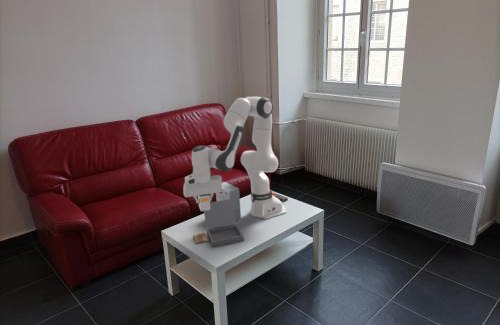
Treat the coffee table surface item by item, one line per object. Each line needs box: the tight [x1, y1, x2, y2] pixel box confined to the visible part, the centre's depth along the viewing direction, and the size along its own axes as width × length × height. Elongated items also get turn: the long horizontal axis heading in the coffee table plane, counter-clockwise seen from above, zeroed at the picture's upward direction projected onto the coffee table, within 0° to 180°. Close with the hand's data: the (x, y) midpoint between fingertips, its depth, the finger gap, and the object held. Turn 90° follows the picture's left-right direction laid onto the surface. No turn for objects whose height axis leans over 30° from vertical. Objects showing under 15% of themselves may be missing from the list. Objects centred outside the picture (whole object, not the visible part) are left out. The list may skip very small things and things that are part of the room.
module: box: [197, 194, 211, 212], centre depth 190 cm, size 5×6×8 cm
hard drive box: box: [215, 181, 242, 221], centre depth 220 cm, size 16×8×20 cm, turn 37°
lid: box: [203, 199, 237, 230], centre depth 204 cm, size 17×14×1 cm
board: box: [193, 231, 210, 245], centre depth 198 cm, size 7×9×1 cm
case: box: [206, 224, 245, 248], centre depth 197 cm, size 17×14×3 cm
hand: (204, 202), depth 191 cm, fingers closed on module, 5 cm apart
